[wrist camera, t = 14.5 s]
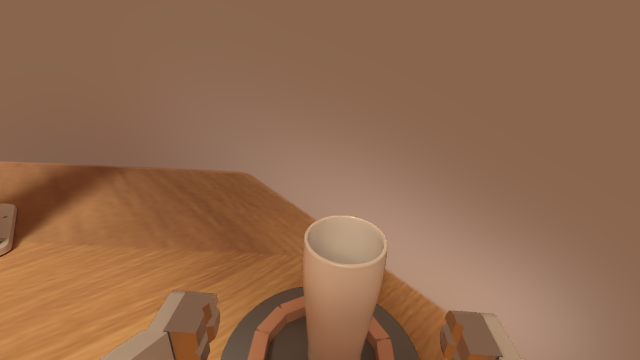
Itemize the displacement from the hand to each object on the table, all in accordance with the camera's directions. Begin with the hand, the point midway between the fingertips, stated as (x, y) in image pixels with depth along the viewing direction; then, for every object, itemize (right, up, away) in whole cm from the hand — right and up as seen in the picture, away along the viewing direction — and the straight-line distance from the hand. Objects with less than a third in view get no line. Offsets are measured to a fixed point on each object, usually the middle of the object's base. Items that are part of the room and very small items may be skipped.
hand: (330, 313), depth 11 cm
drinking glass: (+1, -13, +20) cm, 24 cm away
